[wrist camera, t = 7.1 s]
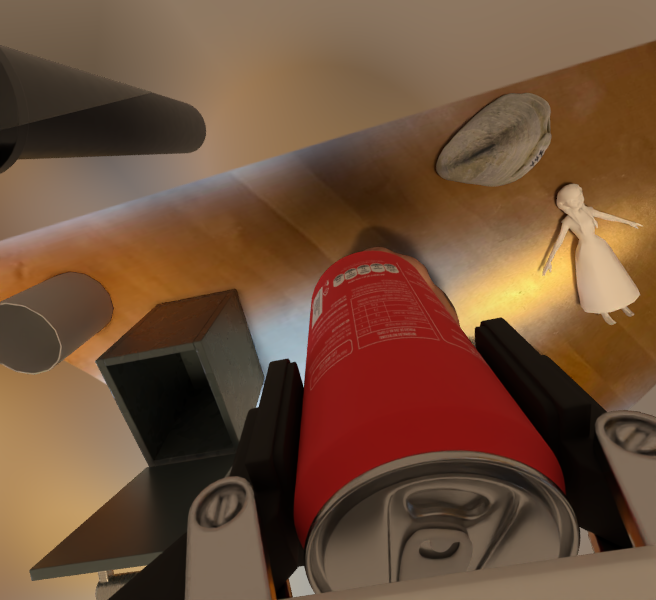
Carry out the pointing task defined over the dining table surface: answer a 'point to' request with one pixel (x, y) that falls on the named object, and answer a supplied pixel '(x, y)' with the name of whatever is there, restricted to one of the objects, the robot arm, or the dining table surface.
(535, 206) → the dining table surface
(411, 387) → the beverage can
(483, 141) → the seashell
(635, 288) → the woman figurine
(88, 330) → the cup
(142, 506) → the bin lid
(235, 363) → the bin
